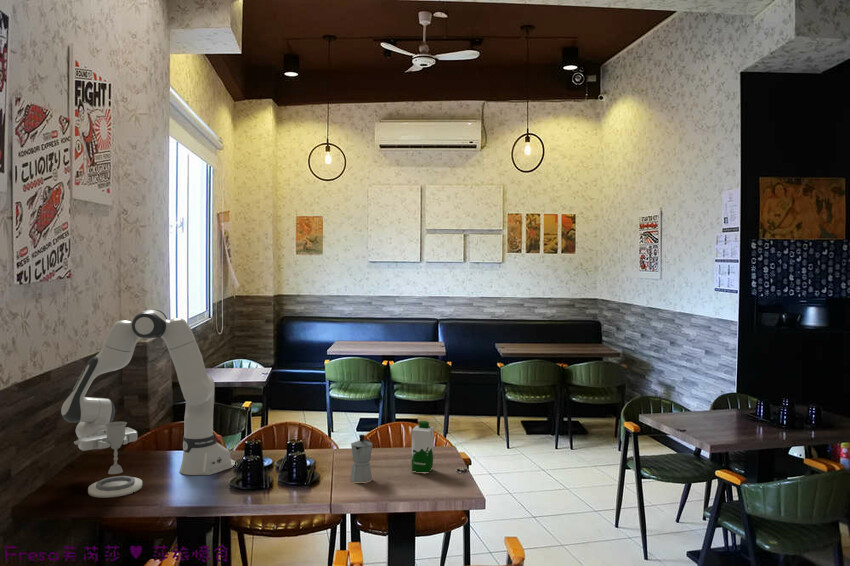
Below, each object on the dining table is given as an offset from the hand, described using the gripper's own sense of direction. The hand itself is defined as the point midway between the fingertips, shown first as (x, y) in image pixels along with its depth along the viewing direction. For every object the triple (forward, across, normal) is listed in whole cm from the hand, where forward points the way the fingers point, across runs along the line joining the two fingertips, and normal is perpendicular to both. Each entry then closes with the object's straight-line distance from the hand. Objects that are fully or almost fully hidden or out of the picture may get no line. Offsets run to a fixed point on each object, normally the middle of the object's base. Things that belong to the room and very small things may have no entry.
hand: (117, 443), depth 227 cm
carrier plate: (-1, 0, +17) cm, 17 cm away
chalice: (-1, 0, +11) cm, 11 cm away
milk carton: (+69, +94, +17) cm, 118 cm away
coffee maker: (+58, +70, +17) cm, 93 cm away
